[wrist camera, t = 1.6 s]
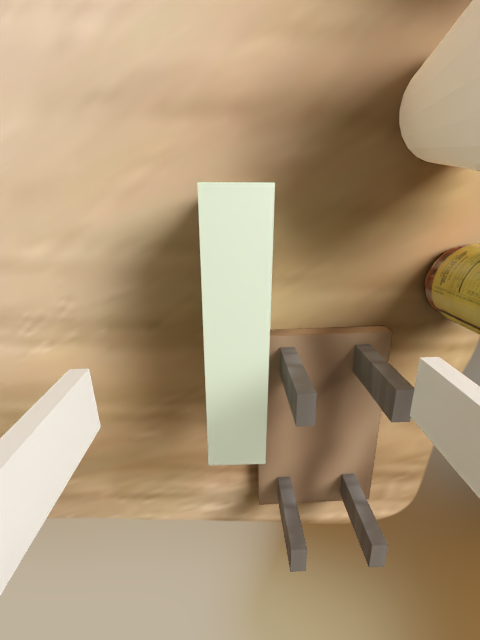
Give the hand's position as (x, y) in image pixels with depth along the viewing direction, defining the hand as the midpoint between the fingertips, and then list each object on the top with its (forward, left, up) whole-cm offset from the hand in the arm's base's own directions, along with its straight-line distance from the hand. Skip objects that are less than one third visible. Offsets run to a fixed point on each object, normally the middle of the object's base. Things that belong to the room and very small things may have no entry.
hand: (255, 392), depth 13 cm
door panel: (-1, 0, -15) cm, 15 cm away
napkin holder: (+7, -12, -14) cm, 20 cm away
